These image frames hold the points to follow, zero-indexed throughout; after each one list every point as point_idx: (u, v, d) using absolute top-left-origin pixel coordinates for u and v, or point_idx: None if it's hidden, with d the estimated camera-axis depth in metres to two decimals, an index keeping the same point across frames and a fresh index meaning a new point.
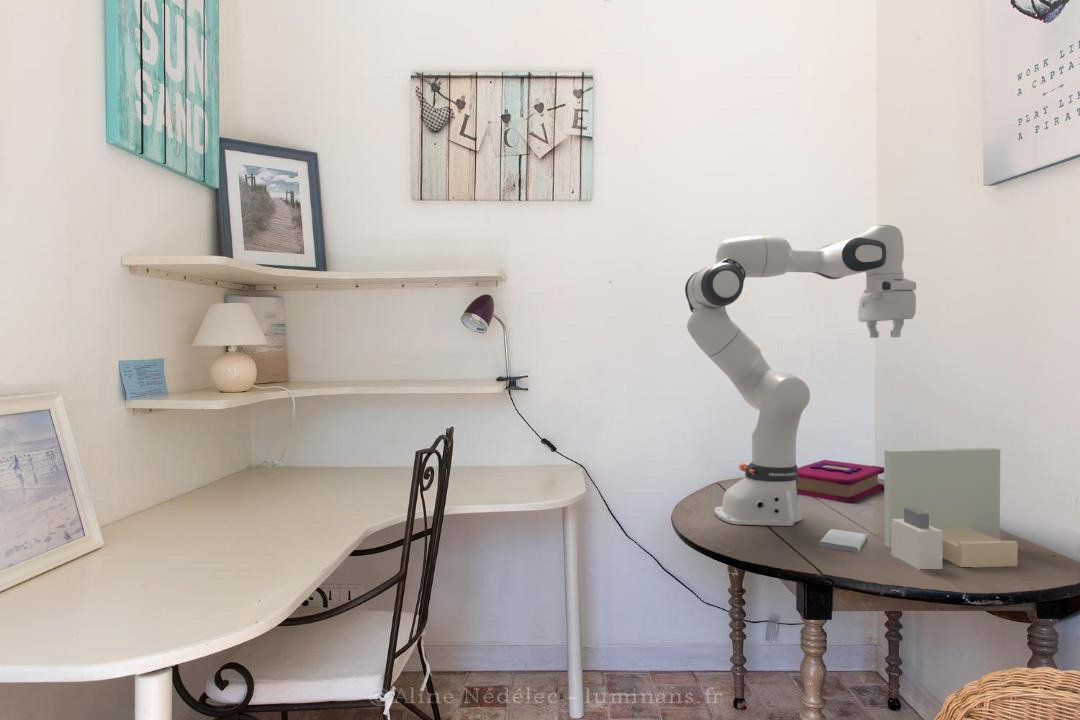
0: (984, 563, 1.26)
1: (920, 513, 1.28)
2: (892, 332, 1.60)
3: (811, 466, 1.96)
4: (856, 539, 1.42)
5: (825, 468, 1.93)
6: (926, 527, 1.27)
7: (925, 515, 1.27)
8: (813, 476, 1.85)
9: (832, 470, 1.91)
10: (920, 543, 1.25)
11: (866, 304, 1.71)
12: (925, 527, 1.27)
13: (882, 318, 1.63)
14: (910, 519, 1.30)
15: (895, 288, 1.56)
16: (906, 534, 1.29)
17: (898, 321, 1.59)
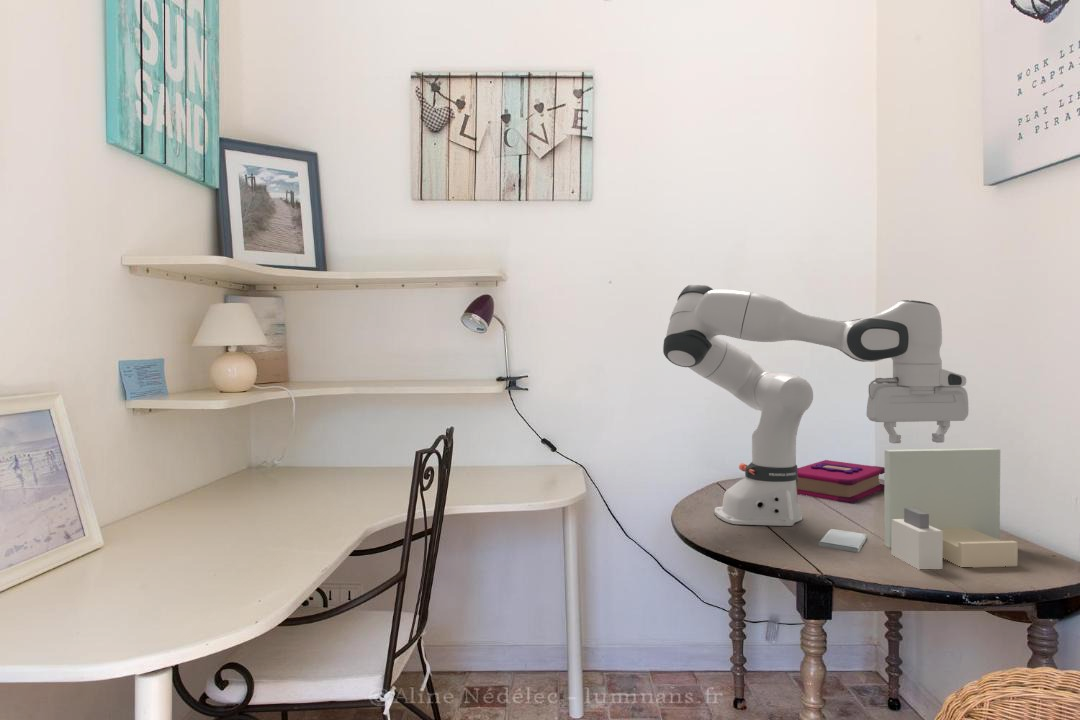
0: (984, 563, 1.26)
1: (920, 513, 1.28)
2: (941, 436, 1.28)
3: (812, 466, 1.96)
4: (856, 539, 1.42)
5: (826, 468, 1.93)
6: (926, 527, 1.27)
7: (925, 515, 1.27)
8: (813, 476, 1.85)
9: (833, 470, 1.90)
10: (921, 543, 1.25)
11: (894, 399, 1.27)
12: (925, 527, 1.27)
13: (930, 419, 1.27)
14: (910, 519, 1.30)
15: None
16: (906, 534, 1.29)
17: None
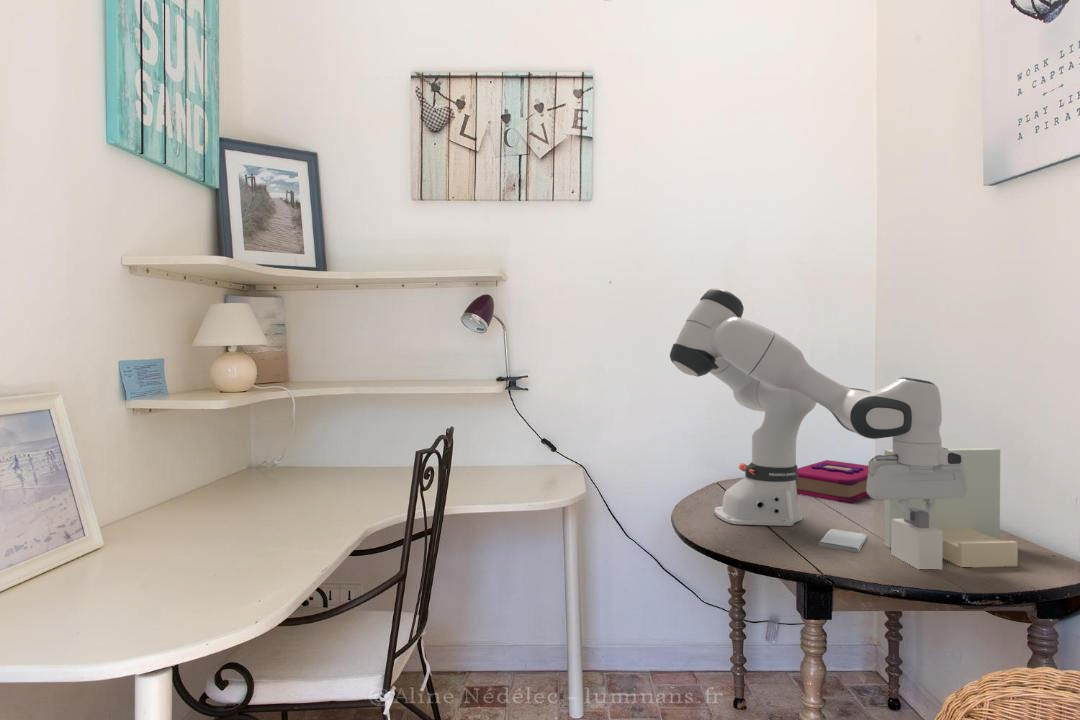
0: (984, 563, 1.26)
1: (920, 513, 1.28)
2: None
3: (812, 466, 1.96)
4: (856, 539, 1.42)
5: (826, 468, 1.93)
6: (926, 527, 1.27)
7: (925, 515, 1.27)
8: (814, 476, 1.85)
9: (833, 470, 1.90)
10: (920, 542, 1.25)
11: (894, 477, 1.27)
12: (925, 527, 1.27)
13: (930, 497, 1.28)
14: None
15: None
16: (906, 534, 1.29)
17: None
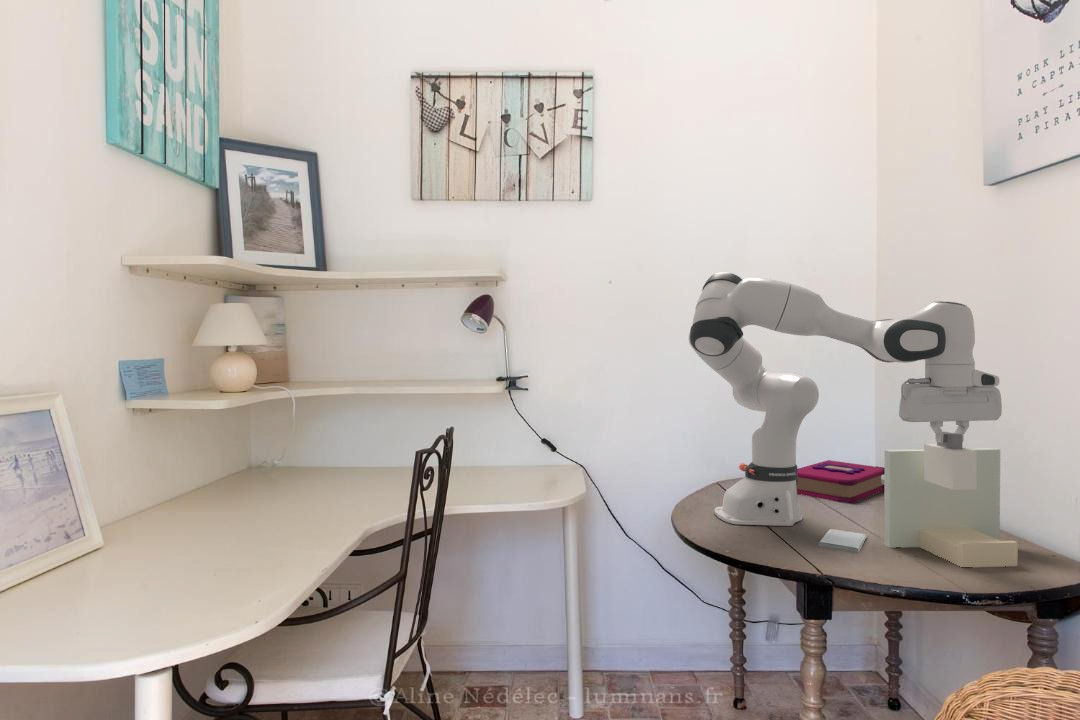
0: (984, 563, 1.26)
1: (953, 434, 1.29)
2: None
3: (813, 466, 1.95)
4: (855, 539, 1.42)
5: (827, 468, 1.92)
6: (960, 448, 1.28)
7: (959, 436, 1.28)
8: (814, 476, 1.85)
9: (834, 470, 1.90)
10: (954, 462, 1.26)
11: (927, 399, 1.29)
12: (959, 448, 1.28)
13: (963, 419, 1.29)
14: None
15: None
16: (939, 456, 1.30)
17: None
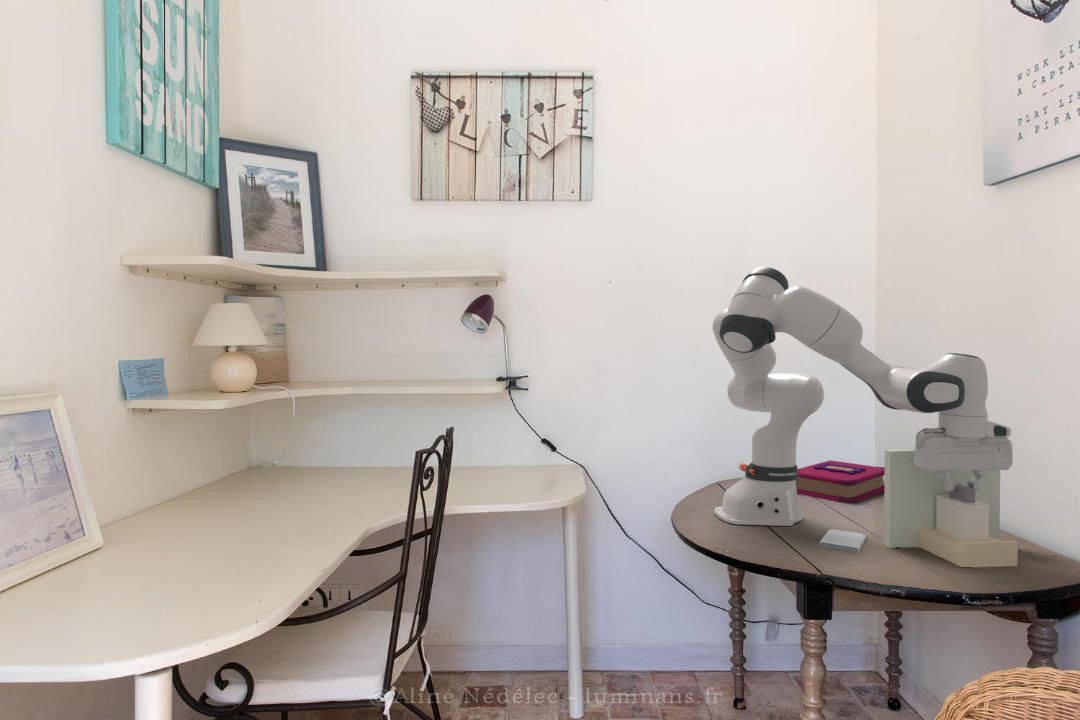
0: (984, 563, 1.26)
1: (966, 488, 1.32)
2: (977, 485, 1.33)
3: (814, 466, 1.95)
4: (855, 539, 1.42)
5: (828, 468, 1.92)
6: (972, 501, 1.31)
7: (971, 490, 1.31)
8: (814, 476, 1.85)
9: (835, 471, 1.90)
10: (968, 516, 1.29)
11: (941, 449, 1.32)
12: (971, 501, 1.31)
13: (976, 468, 1.32)
14: (956, 495, 1.34)
15: None
16: (952, 509, 1.33)
17: None
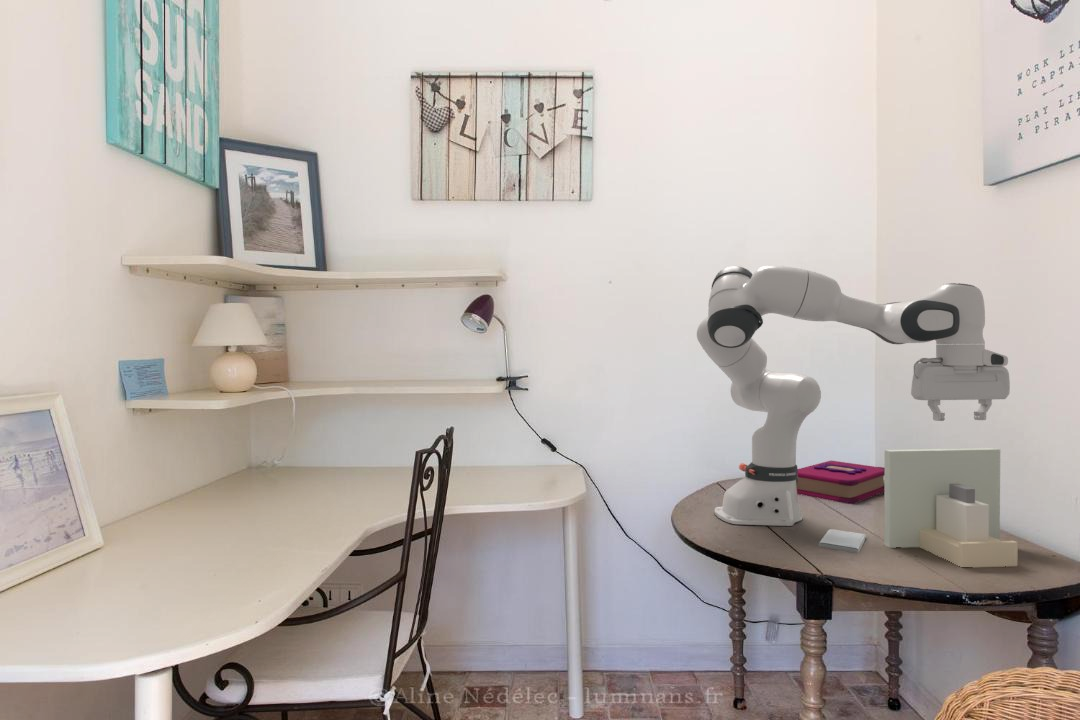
0: (984, 563, 1.26)
1: (966, 488, 1.32)
2: (983, 414, 1.34)
3: (815, 466, 1.95)
4: (855, 539, 1.42)
5: (828, 469, 1.92)
6: (972, 501, 1.31)
7: (971, 490, 1.31)
8: (815, 476, 1.85)
9: (835, 471, 1.90)
10: (968, 516, 1.29)
11: (939, 378, 1.33)
12: (971, 501, 1.31)
13: (973, 397, 1.33)
14: (956, 495, 1.34)
15: None
16: (952, 509, 1.33)
17: None
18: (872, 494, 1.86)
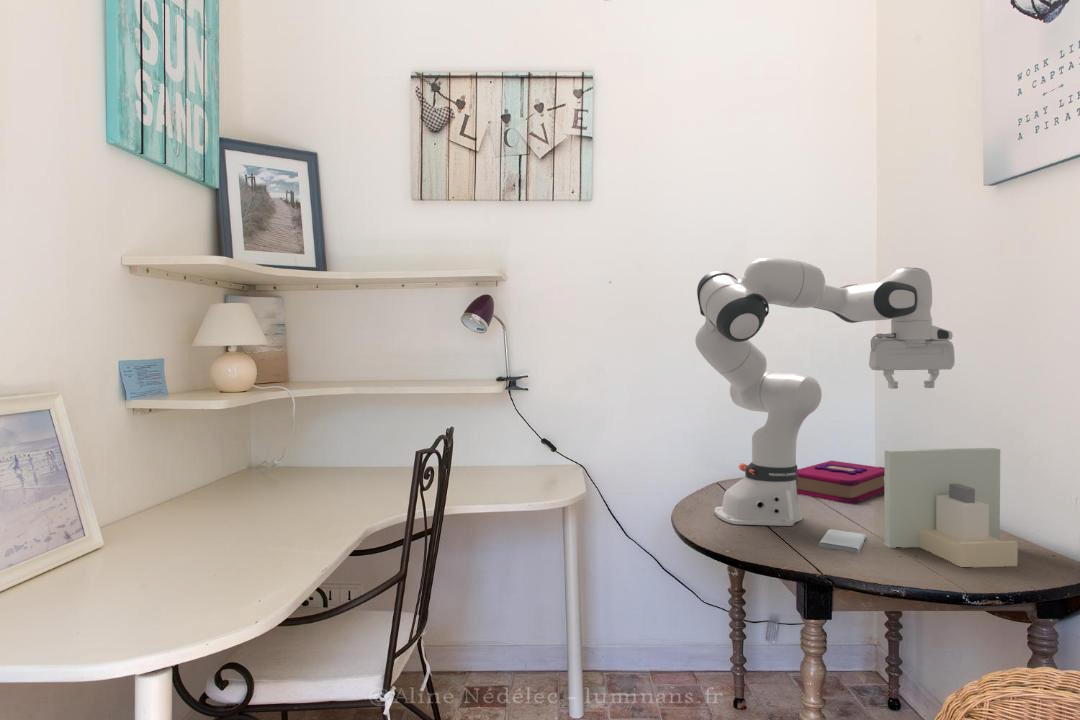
0: (984, 563, 1.26)
1: (966, 488, 1.32)
2: (932, 383, 1.53)
3: (815, 467, 1.95)
4: (855, 539, 1.42)
5: (829, 469, 1.92)
6: (972, 501, 1.31)
7: (971, 490, 1.31)
8: (815, 476, 1.85)
9: (836, 471, 1.90)
10: (968, 516, 1.29)
11: (892, 351, 1.52)
12: (971, 501, 1.31)
13: (922, 368, 1.52)
14: (956, 495, 1.34)
15: None
16: (952, 509, 1.33)
17: None
18: (873, 494, 1.85)
